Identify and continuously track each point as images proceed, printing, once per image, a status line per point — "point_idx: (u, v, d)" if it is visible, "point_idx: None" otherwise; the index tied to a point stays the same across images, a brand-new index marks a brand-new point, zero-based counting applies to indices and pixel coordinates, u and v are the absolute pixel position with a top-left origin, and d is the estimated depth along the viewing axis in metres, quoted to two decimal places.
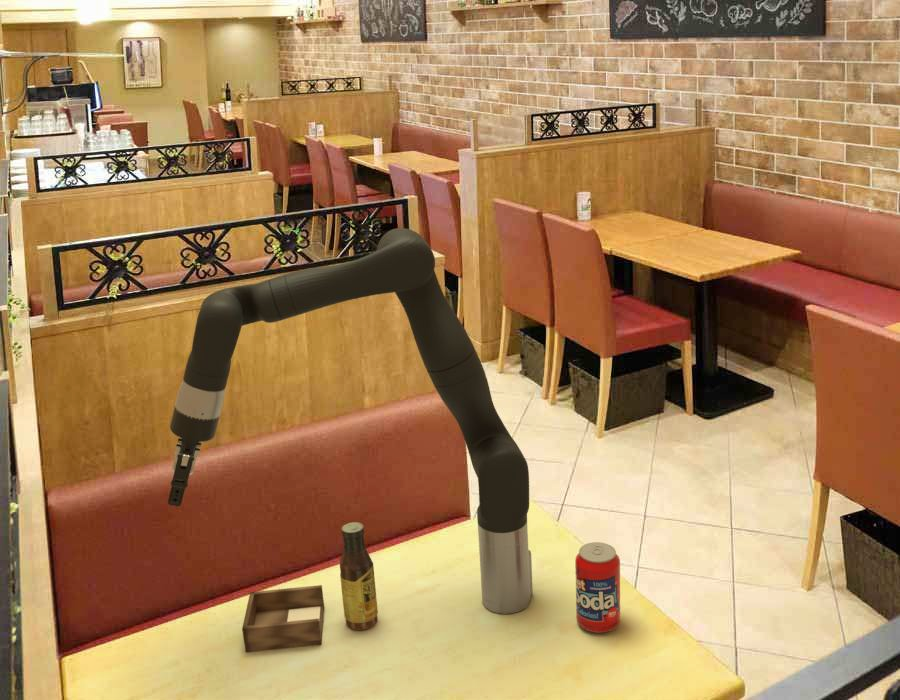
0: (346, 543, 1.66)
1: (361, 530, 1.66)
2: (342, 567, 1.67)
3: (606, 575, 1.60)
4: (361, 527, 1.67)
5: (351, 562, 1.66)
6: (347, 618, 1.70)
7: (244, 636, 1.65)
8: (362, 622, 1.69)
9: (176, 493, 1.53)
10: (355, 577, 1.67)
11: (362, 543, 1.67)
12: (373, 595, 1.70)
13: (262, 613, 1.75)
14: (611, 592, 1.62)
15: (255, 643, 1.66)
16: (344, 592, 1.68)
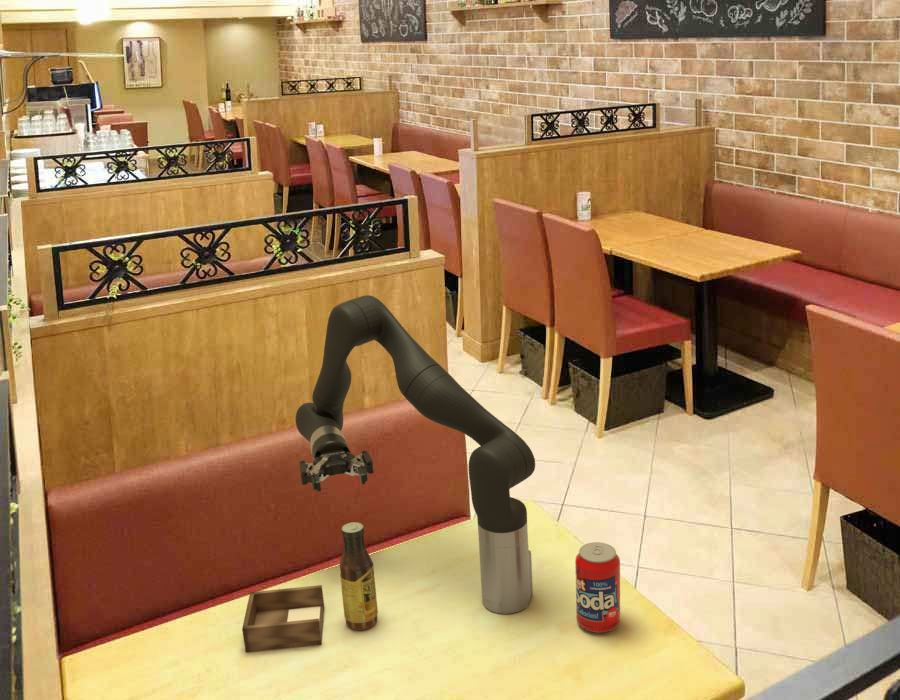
0: (346, 543, 1.66)
1: (361, 530, 1.66)
2: (342, 567, 1.67)
3: (606, 575, 1.60)
4: (361, 527, 1.67)
5: (351, 562, 1.66)
6: (347, 618, 1.70)
7: (244, 636, 1.65)
8: (362, 622, 1.69)
9: (311, 482, 1.77)
10: (355, 577, 1.67)
11: (362, 543, 1.67)
12: (373, 595, 1.70)
13: (262, 613, 1.75)
14: (611, 592, 1.62)
15: (255, 643, 1.66)
16: (344, 592, 1.68)
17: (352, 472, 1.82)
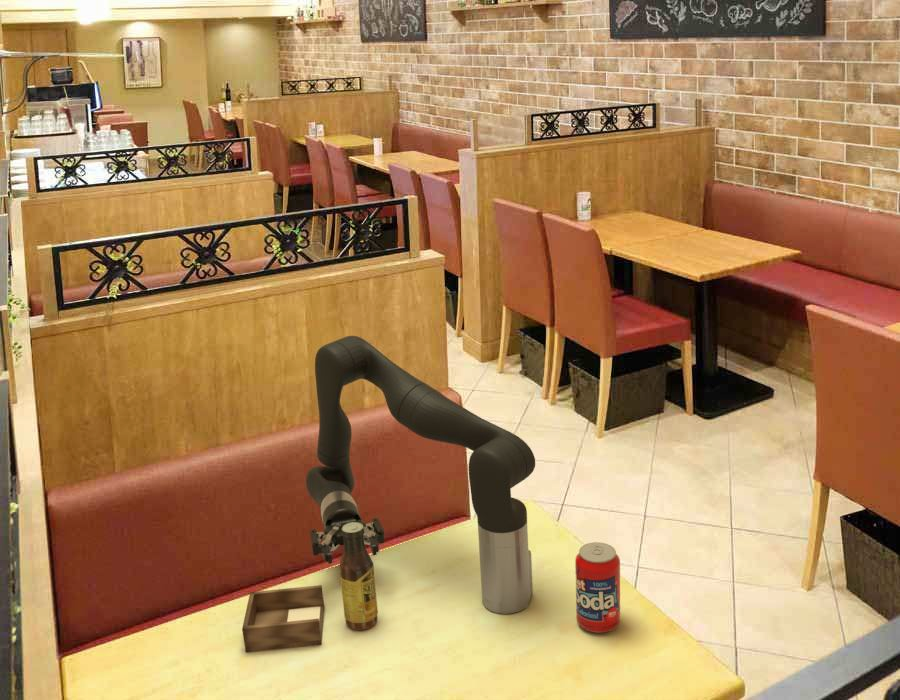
0: (346, 543, 1.66)
1: (361, 530, 1.66)
2: (342, 567, 1.67)
3: (606, 575, 1.60)
4: (361, 527, 1.67)
5: (351, 562, 1.66)
6: (347, 618, 1.70)
7: (244, 636, 1.65)
8: (362, 622, 1.69)
9: (323, 553, 1.76)
10: (355, 577, 1.67)
11: (362, 543, 1.67)
12: (373, 595, 1.70)
13: (262, 613, 1.75)
14: (611, 592, 1.62)
15: (255, 643, 1.66)
16: (344, 592, 1.68)
17: None
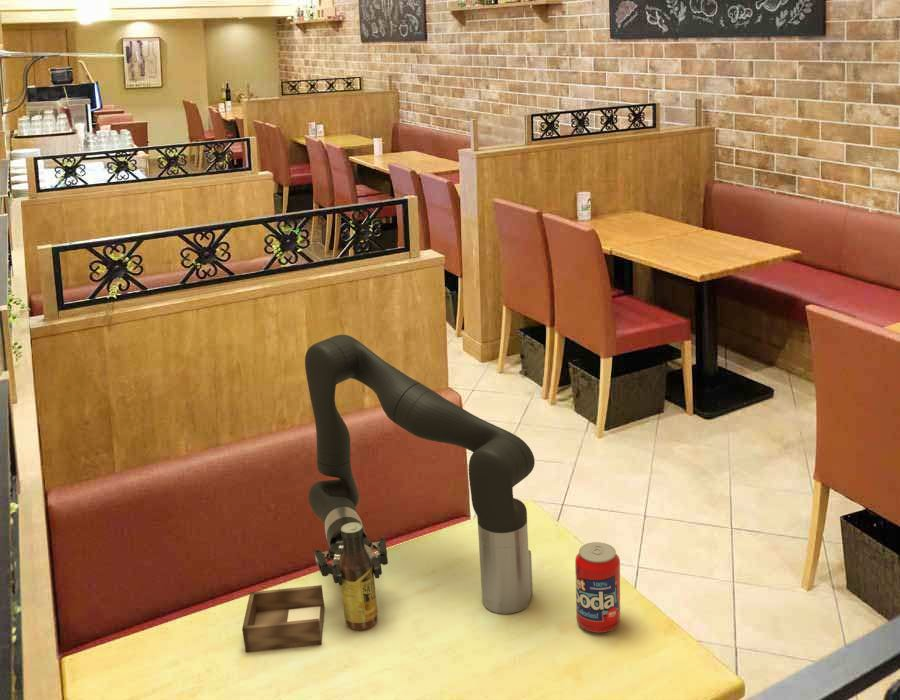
0: (345, 543, 1.66)
1: (360, 530, 1.66)
2: (341, 567, 1.67)
3: (606, 575, 1.60)
4: (360, 527, 1.66)
5: (351, 563, 1.66)
6: (347, 618, 1.70)
7: (244, 636, 1.65)
8: (362, 622, 1.69)
9: (333, 574, 1.68)
10: (355, 577, 1.66)
11: (361, 543, 1.67)
12: (373, 595, 1.70)
13: (262, 613, 1.75)
14: (611, 592, 1.62)
15: (255, 643, 1.66)
16: (344, 593, 1.68)
17: None
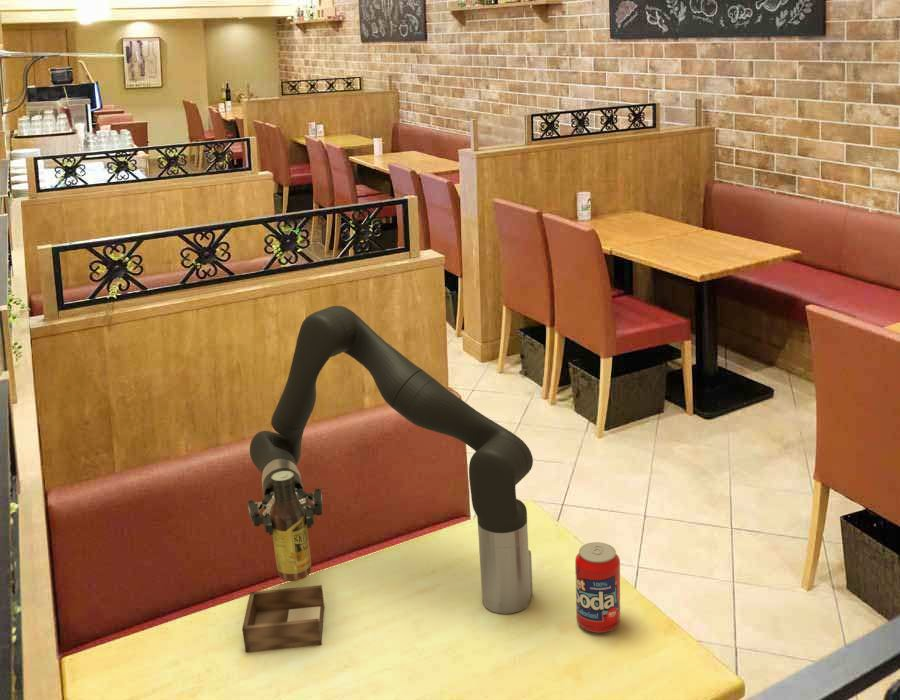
0: (276, 491, 1.62)
1: (291, 478, 1.61)
2: (272, 517, 1.63)
3: (606, 575, 1.60)
4: (291, 475, 1.62)
5: (281, 511, 1.62)
6: (279, 569, 1.66)
7: (244, 636, 1.65)
8: (294, 573, 1.65)
9: None
10: (286, 526, 1.62)
11: (292, 492, 1.63)
12: (306, 545, 1.65)
13: (262, 613, 1.75)
14: (611, 592, 1.62)
15: (255, 643, 1.66)
16: (275, 543, 1.64)
17: None
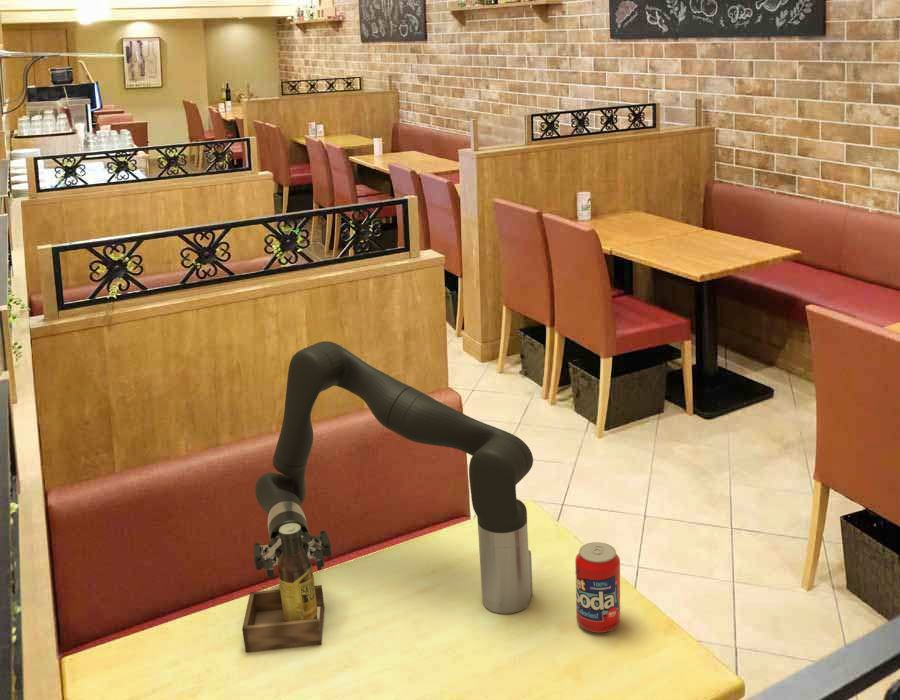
0: (283, 544, 1.65)
1: (298, 532, 1.65)
2: (279, 568, 1.66)
3: (606, 575, 1.60)
4: (298, 528, 1.65)
5: (289, 564, 1.65)
6: (286, 618, 1.69)
7: (244, 636, 1.65)
8: None
9: None
10: (293, 578, 1.65)
11: (299, 544, 1.66)
12: (312, 596, 1.69)
13: (262, 613, 1.75)
14: (611, 592, 1.62)
15: (255, 643, 1.66)
16: (282, 593, 1.67)
17: (309, 555, 1.72)
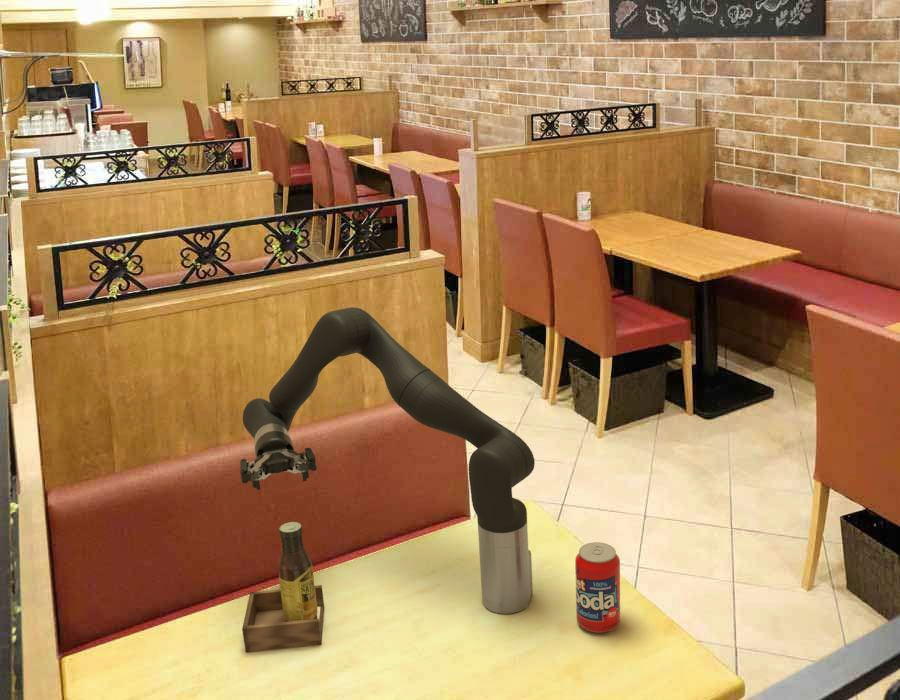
0: (284, 542, 1.65)
1: (298, 530, 1.65)
2: (280, 567, 1.66)
3: (606, 575, 1.60)
4: (299, 527, 1.66)
5: (289, 562, 1.65)
6: (286, 618, 1.69)
7: (244, 636, 1.65)
8: None
9: None
10: (293, 577, 1.66)
11: (300, 543, 1.66)
12: (312, 595, 1.69)
13: (262, 613, 1.75)
14: (611, 592, 1.62)
15: (255, 643, 1.66)
16: (283, 592, 1.68)
17: (294, 470, 1.77)
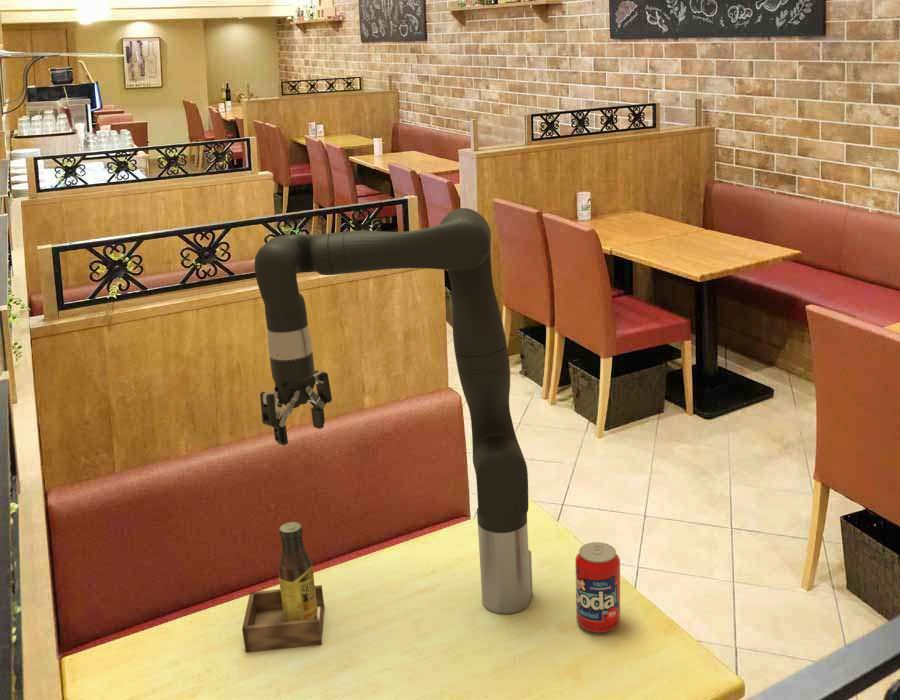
0: (284, 542, 1.65)
1: (298, 530, 1.65)
2: (280, 567, 1.66)
3: (606, 575, 1.60)
4: (299, 527, 1.66)
5: (289, 562, 1.65)
6: (286, 618, 1.69)
7: (244, 636, 1.65)
8: None
9: (276, 432, 1.62)
10: (293, 577, 1.66)
11: (300, 543, 1.66)
12: (312, 595, 1.69)
13: (262, 613, 1.75)
14: (611, 592, 1.62)
15: (255, 643, 1.66)
16: (283, 593, 1.68)
17: None
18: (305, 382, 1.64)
